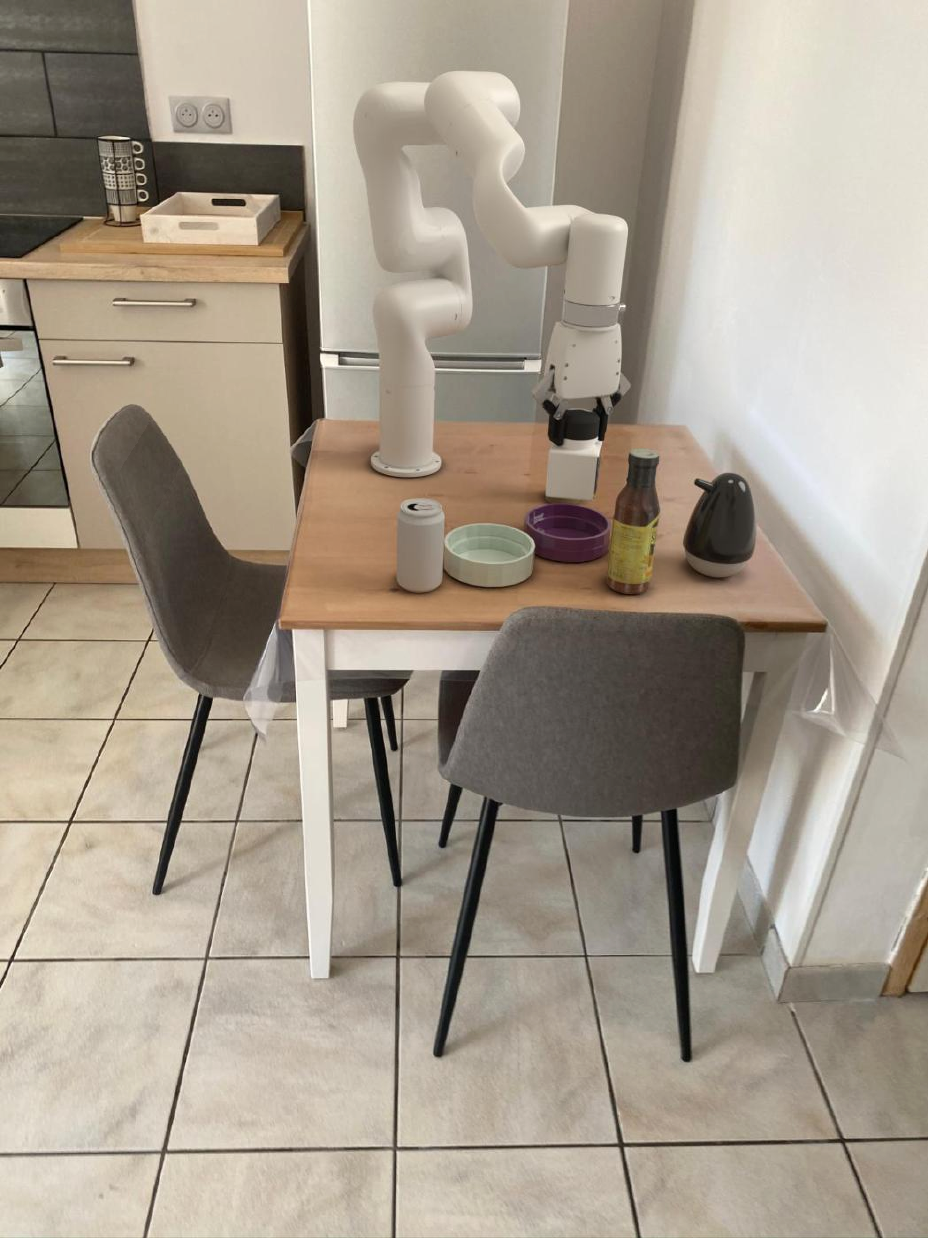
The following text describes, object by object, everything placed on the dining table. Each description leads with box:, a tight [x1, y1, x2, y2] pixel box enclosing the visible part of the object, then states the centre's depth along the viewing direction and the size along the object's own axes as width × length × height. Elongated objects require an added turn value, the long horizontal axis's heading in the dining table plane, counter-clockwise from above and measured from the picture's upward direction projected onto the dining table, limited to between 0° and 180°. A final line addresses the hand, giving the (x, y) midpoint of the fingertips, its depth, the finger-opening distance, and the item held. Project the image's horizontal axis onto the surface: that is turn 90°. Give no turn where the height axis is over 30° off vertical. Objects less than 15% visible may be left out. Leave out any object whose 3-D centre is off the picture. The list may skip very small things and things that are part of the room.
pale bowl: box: [443, 522, 536, 588], centre depth 139 cm, size 13×13×4 cm
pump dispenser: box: [682, 471, 757, 578], centre depth 138 cm, size 10×10×15 cm
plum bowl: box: [522, 503, 612, 563], centre depth 146 cm, size 13×13×4 cm
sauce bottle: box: [606, 447, 661, 595], centre depth 132 cm, size 7×6×20 cm
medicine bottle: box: [545, 407, 603, 502], centre depth 139 cm, size 7×7×12 cm
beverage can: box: [396, 497, 445, 594], centre depth 131 cm, size 6×6×12 cm
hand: (576, 439), depth 139 cm, fingers closed on medicine bottle, 6 cm apart
